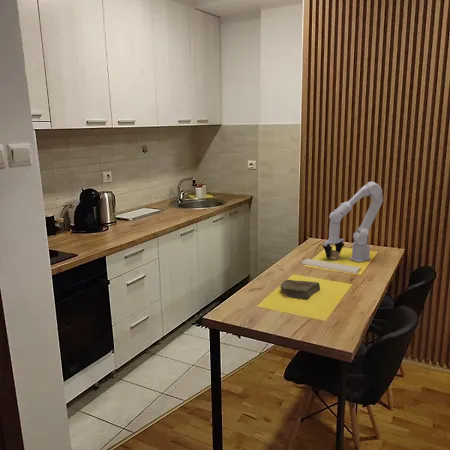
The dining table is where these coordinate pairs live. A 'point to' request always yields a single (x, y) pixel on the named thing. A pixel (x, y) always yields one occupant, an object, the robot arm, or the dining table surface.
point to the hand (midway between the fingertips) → (332, 256)
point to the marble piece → (299, 288)
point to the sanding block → (334, 255)
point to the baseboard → (331, 265)
